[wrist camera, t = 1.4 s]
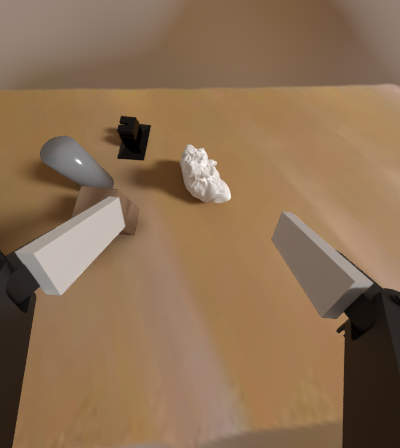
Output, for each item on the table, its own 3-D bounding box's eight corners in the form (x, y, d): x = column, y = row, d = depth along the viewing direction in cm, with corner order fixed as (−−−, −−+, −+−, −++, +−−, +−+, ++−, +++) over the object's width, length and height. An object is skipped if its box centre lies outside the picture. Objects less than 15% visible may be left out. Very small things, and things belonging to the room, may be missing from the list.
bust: (183, 174, 32) (143, 166, 22) (205, 144, 29) (169, 118, 19) (219, 214, 30) (193, 224, 20) (248, 186, 27) (232, 182, 17)
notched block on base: (126, 119, 34) (115, 97, 29) (157, 122, 34) (151, 101, 29) (113, 165, 31) (99, 149, 26) (148, 168, 31) (140, 153, 26)
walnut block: (106, 233, 26) (70, 221, 19) (113, 207, 28) (81, 186, 20) (134, 235, 26) (108, 224, 19) (139, 209, 28) (117, 189, 20)
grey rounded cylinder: (84, 194, 28) (34, 164, 19) (91, 172, 29) (47, 134, 21) (110, 197, 28) (71, 167, 19) (116, 174, 29) (82, 137, 21)
